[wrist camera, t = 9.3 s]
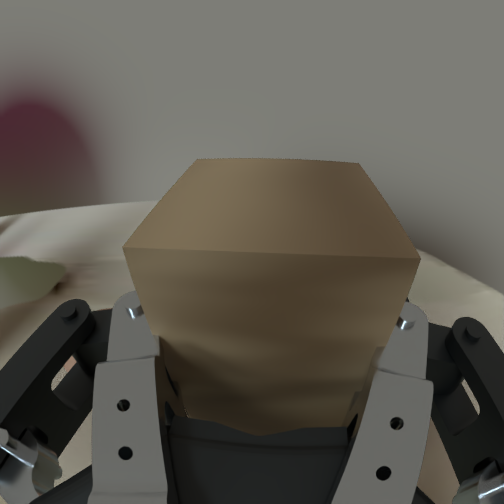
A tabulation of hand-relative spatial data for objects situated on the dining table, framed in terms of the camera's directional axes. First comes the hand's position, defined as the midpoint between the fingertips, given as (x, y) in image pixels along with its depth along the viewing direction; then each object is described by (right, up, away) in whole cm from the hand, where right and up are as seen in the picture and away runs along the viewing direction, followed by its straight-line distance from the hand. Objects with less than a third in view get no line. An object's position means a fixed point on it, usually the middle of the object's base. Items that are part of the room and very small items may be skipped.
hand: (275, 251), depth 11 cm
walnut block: (0, -7, +2) cm, 7 cm away
